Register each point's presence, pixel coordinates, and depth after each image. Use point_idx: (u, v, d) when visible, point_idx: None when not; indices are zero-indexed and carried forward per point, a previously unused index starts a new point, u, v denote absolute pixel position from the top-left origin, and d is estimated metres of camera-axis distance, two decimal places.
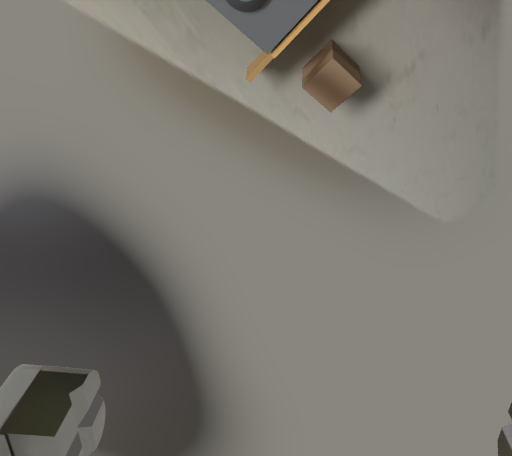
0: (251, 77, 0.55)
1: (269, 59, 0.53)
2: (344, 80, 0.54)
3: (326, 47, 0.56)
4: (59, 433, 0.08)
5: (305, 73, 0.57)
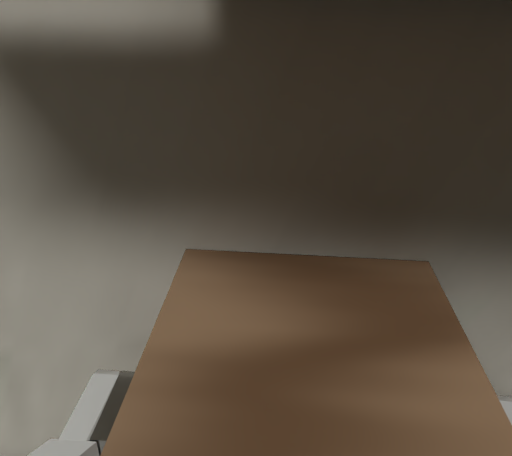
0: None
1: None
2: None
3: (393, 281, 0.09)
4: None
5: (190, 317, 0.08)
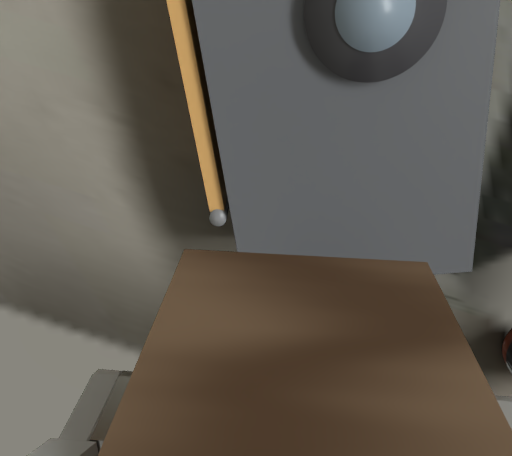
0: None
1: None
2: None
3: (392, 281, 0.09)
4: None
5: (188, 317, 0.08)
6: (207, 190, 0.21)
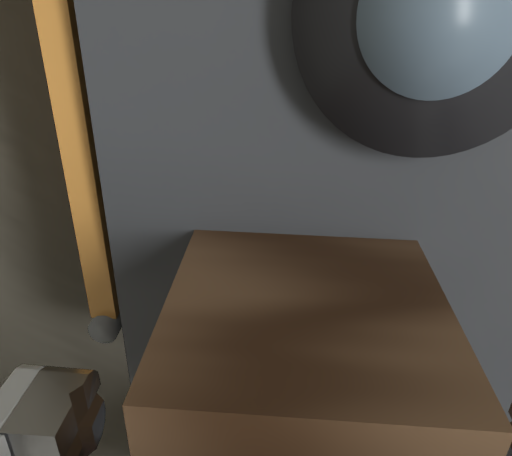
0: None
1: None
2: None
3: (385, 256, 0.09)
4: (59, 433, 0.08)
5: (200, 286, 0.08)
6: (88, 284, 0.12)
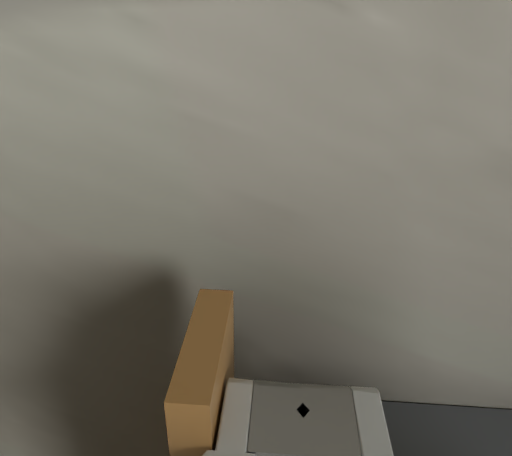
0: (186, 431, 0.07)
1: None
2: None
3: None
4: None
5: None
6: None
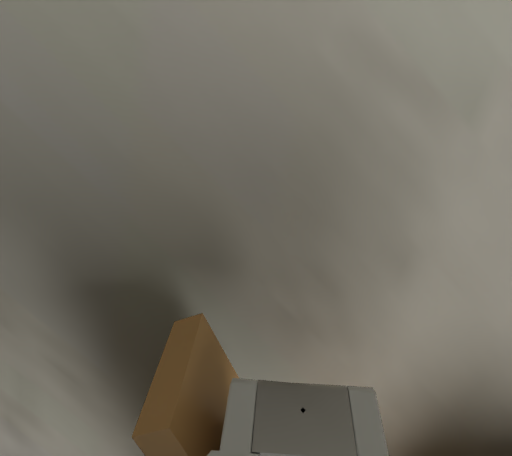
0: None
1: None
2: None
3: None
4: None
5: None
6: None
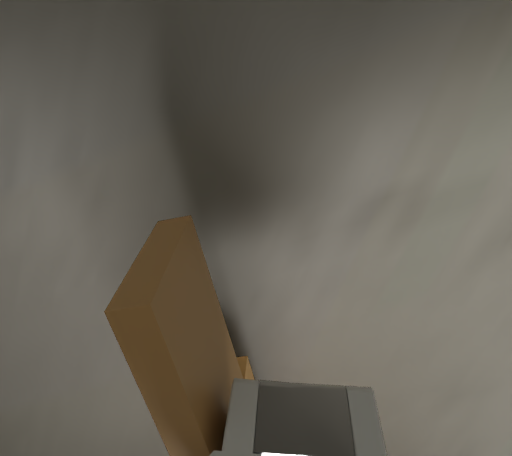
0: (139, 341, 0.07)
1: None
2: None
3: None
4: None
5: None
6: None
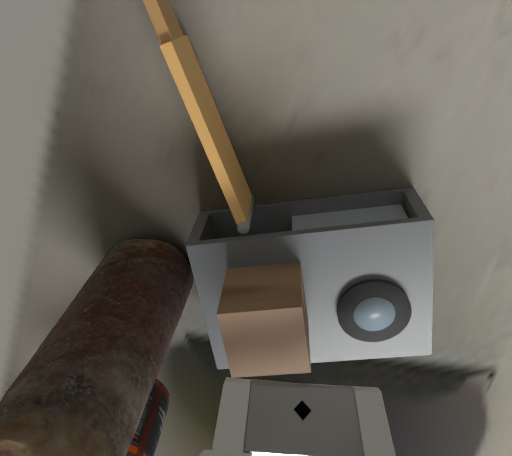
0: None
1: (159, 30, 0.25)
2: (260, 363, 0.28)
3: (307, 318, 0.31)
4: None
5: None
6: (232, 210, 0.30)
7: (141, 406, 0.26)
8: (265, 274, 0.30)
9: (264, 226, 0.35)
